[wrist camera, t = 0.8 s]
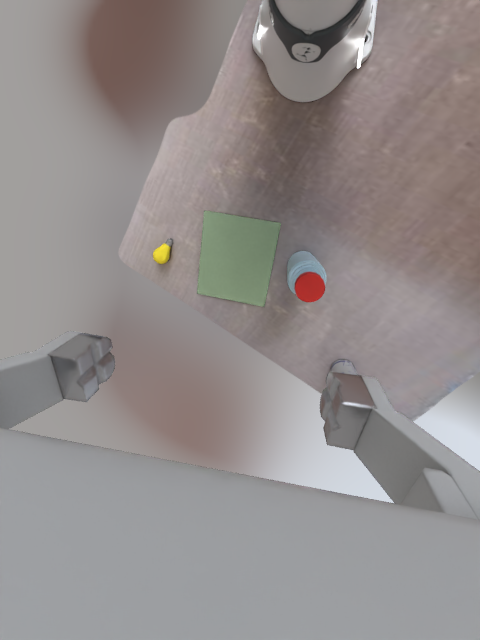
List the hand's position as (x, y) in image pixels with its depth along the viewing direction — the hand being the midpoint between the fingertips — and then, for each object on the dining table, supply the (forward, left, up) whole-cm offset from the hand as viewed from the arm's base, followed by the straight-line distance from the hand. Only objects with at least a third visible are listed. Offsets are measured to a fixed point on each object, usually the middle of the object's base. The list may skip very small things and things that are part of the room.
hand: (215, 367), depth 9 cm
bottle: (+2, +6, -47) cm, 47 cm away
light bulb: (+4, -24, -47) cm, 53 cm away
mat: (+4, -8, -47) cm, 47 cm away
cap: (+2, +6, -27) cm, 28 cm away
